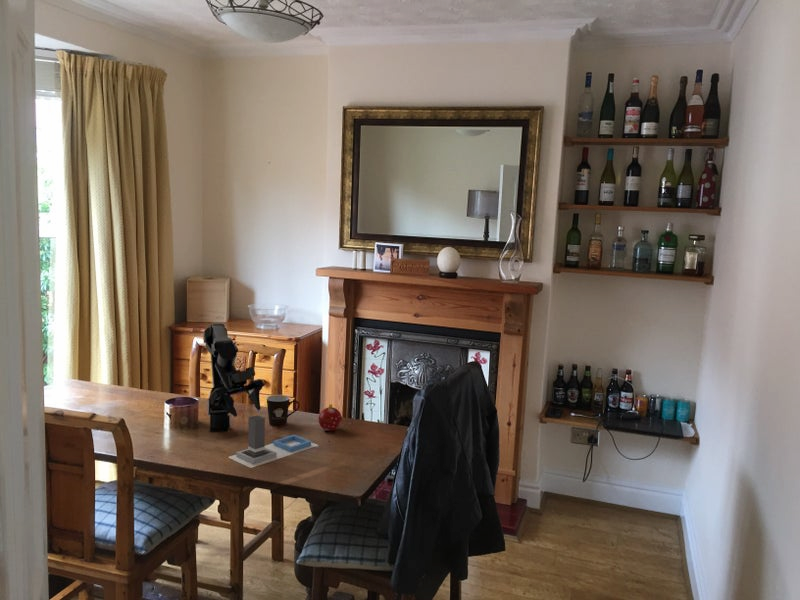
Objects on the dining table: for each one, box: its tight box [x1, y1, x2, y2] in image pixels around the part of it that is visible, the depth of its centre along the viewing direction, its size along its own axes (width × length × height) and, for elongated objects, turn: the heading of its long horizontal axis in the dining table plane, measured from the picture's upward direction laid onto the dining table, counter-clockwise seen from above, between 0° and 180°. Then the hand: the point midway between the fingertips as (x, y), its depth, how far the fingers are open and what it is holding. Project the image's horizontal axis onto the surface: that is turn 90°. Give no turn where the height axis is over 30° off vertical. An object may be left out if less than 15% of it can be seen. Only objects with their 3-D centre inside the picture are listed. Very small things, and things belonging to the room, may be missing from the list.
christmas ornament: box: [317, 403, 343, 432], centre depth 231 cm, size 9×9×10 cm
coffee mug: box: [266, 394, 300, 428], centre depth 236 cm, size 12×9×10 cm
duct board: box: [228, 434, 320, 469], centre depth 207 cm, size 28×12×2 cm, turn 140°
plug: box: [245, 415, 268, 458], centre depth 200 cm, size 5×5×13 cm
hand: (248, 412), depth 206 cm, fingers open, 9 cm apart
